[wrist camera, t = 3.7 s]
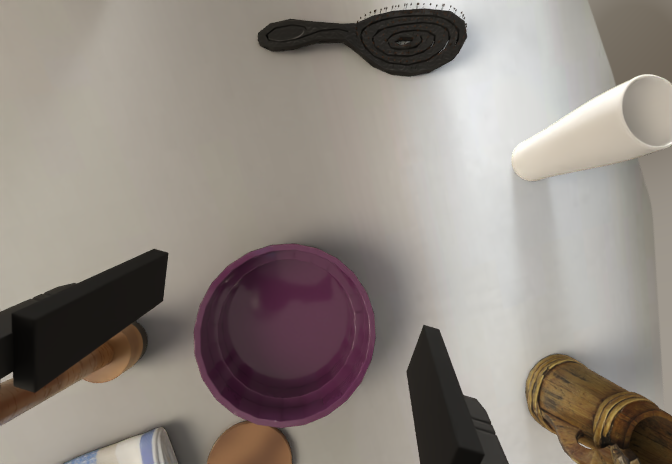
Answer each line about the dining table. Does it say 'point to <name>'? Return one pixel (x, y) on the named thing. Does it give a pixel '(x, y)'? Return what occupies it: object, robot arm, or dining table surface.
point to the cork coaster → (251, 446)
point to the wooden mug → (597, 415)
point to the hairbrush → (380, 38)
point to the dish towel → (133, 451)
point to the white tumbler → (601, 131)
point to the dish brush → (79, 372)
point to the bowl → (284, 335)
